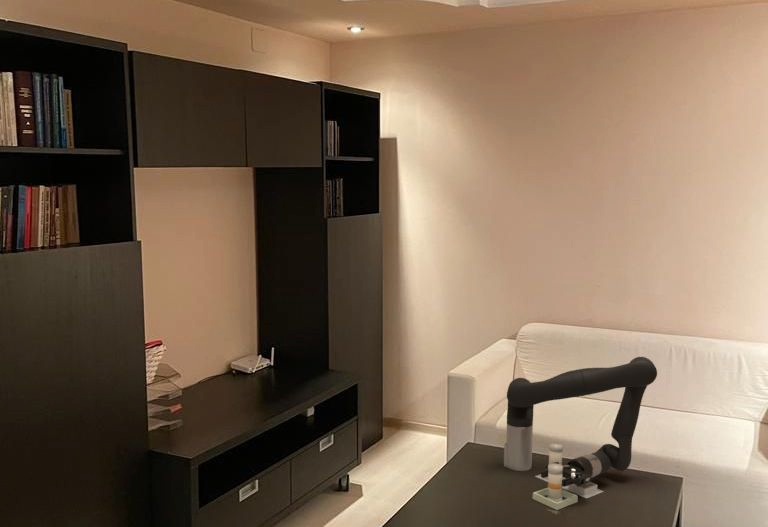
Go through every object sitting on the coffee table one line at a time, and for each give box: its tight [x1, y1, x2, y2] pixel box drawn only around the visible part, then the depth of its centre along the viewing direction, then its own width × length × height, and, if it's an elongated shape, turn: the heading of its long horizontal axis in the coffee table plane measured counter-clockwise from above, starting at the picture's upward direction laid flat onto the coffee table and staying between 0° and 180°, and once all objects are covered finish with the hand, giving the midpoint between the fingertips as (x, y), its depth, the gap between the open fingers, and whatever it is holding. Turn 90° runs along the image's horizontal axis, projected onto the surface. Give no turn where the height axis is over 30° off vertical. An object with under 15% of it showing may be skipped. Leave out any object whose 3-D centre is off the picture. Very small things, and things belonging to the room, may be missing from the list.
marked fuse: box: [547, 463, 563, 502], centre depth 233 cm, size 5×5×12 cm
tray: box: [532, 487, 579, 515], centre depth 233 cm, size 10×10×4 cm
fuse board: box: [534, 473, 604, 499], centre depth 246 cm, size 22×9×4 cm, turn 36°
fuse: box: [548, 441, 564, 466], centre depth 251 cm, size 5×5×12 cm
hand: (552, 479), depth 232 cm, fingers open, 8 cm apart
